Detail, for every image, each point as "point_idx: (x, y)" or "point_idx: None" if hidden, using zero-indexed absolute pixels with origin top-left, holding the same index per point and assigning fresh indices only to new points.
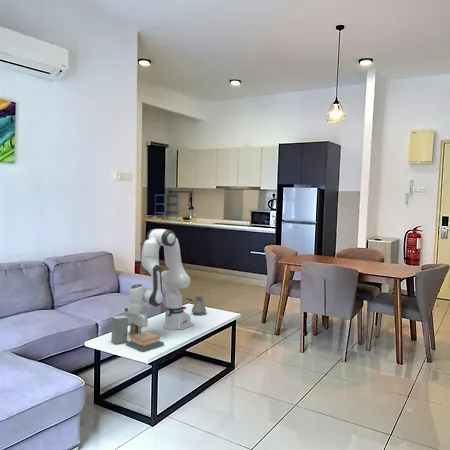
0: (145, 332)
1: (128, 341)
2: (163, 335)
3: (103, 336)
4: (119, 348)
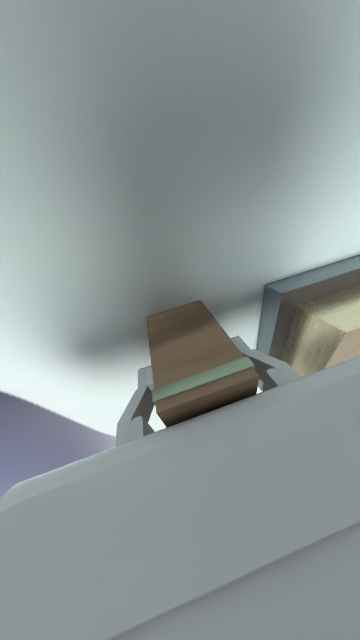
0: (348, 345)
1: (262, 384)
2: (327, 32)
3: (107, 432)
4: (257, 393)
